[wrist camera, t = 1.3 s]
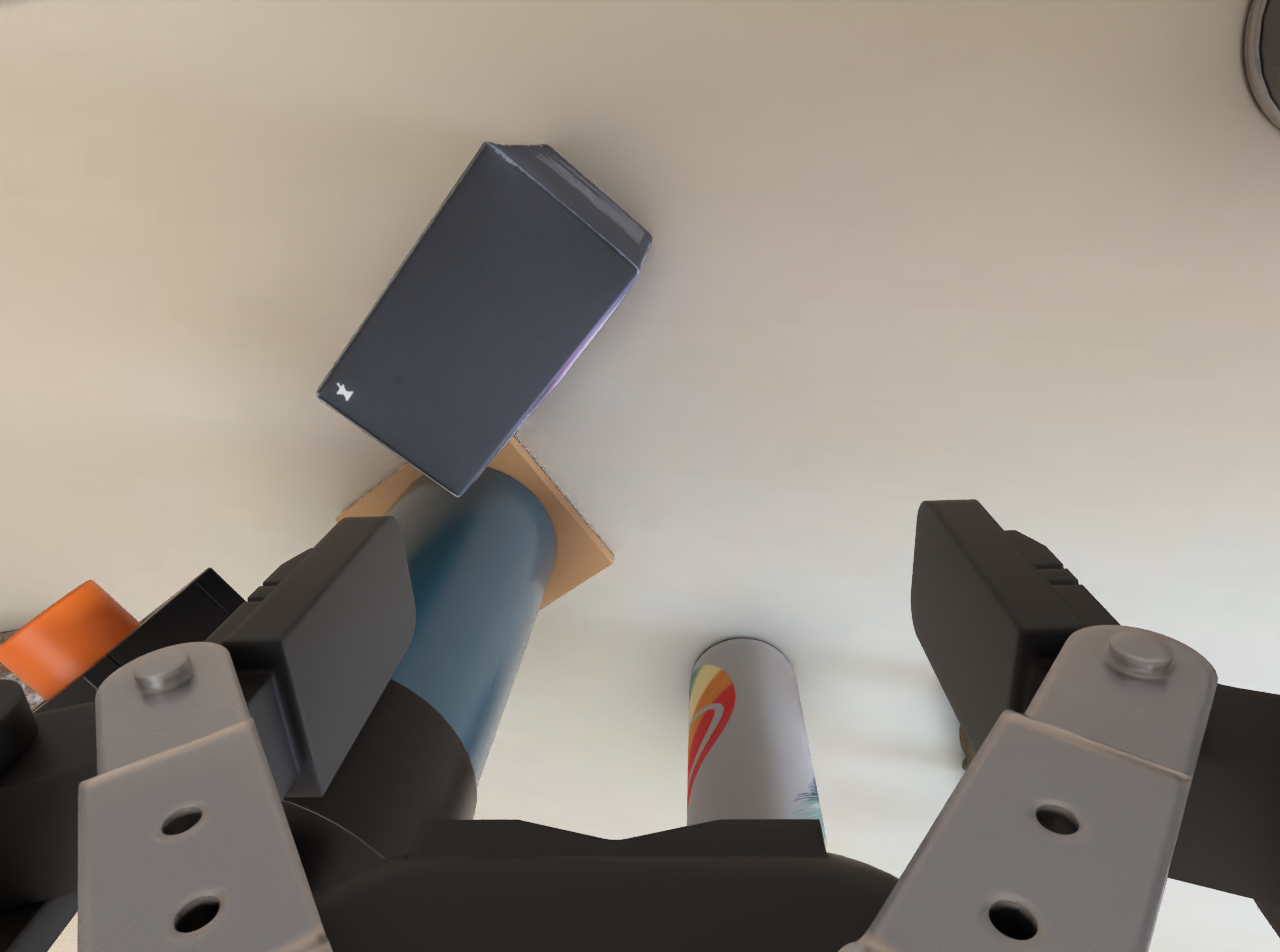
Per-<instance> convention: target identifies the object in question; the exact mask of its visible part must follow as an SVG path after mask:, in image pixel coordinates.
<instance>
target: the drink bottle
mask: <svg viewBox="0 0 1280 952" xmlns="http://www.w3.org/2000/svg"><path fill="white" fill-rule="evenodd" d="M383 516H393V517H395V518H396V520H397V521H398V523H399V525H400V528H401V532H402V536H403V542H404V547H405V552H406V558H407V563H408V568H409V574H410V579H411V585H412V590H413V595H414V601H415V608H416V623H415V630H414V635H413V639H412V641H411V644H410V646H409V647H408V649H407V651H406V653H405V654H404V656H403V658H402V659H401V661H400V663H399V665H398V666H397V668H396V670H395V672H394V673H393V675H392V677H391V679H390V680H389V682H388V684H387V686H386V687H385V689H384V691H383V693H382V694H381V696H380V698H379V699H378V701H377V703H376V705H375V706H374V708H373V710H372V712H371V713H370V715H369V717H368V719H367V720H366V722H365V724H364V726H363V727H362V729H361V731H360V733H359V734H358V736H357V738H356V739H355V741H354V743H353V745H352V746H351V748H350V750H349V752H348V753H347V755H346V757H345V759H344V760H343V762H342V764H341V766H340V767H339V769H338V771H337V772H336V774H335V776H334V778H333V779H332V781H331V783H330V785H329V786H328V788H327V790H326V792H325V793H324V795H323V797H284V798H283V799H282V801H281V803H282V806H283V809H284V812H285V815H286V818H287V821H288V824H289V827H290V830H291V833H292V836H293V839H294V842H295V845H296V848H297V851H298V854H299V857H300V860H301V863H302V866H303V869H304V872H305V875H306V878H307V881H308V884H309V887H310V890H311V893H312V894H313V893H314V892H316V891H318V890H319V889H321V888H322V887H324V886H326V885H327V884H329V883H331V882H333V881H335V880H337V879H339V878H341V877H343V876H345V875H347V874H348V873H350V872H353V871H355V870H357V869H360V868H362V867H365V866H367V865H370V864H372V863H374V862H378V861H381V860H384V859H387V858H390V857H394V856H397V855H401V854H405V853H409V852H410V851H411V848H412V846H413V843H414V841H415V838H416V836H417V833H418V831H419V828H420V826H421V823H422V821H423V820H473V817H474V814H475V808H476V802H477V786H478V783H479V780H480V777H481V774H482V771H483V768H484V766H485V763H486V760H487V757H488V754H489V751H490V748H491V745H492V743H493V740H494V737H495V734H496V731H497V728H498V725H499V722H500V720H501V717H502V714H503V711H504V708H505V705H506V702H507V699H508V697H509V694H510V691H511V688H512V685H513V682H514V679H515V676H516V674H517V671H518V668H519V665H520V662H521V659H522V656H523V653H524V651H525V648H526V645H527V642H528V639H529V636H530V633H531V630H532V628H533V625H534V622H535V619H536V616H537V613H538V610H539V607H540V605H541V602H542V599H543V596H544V593H545V590H546V587H547V584H548V582H549V579H550V576H551V573H552V570H553V567H554V564H555V559H556V537H555V532H554V528H553V525H552V522H551V520H550V518H549V515H548V514H547V512H546V510H545V508H544V507H543V505H542V504H541V503H540V501H539V500H538V499H537V497H536V496H535V495H534V494H533V493H532V492H531V491H530V490H529V489H528V488H526V487H525V486H524V485H523V484H521V483H520V482H519V481H517V480H516V479H514V478H512V477H511V476H509V475H507V474H505V473H503V472H500V471H498V470H495V469H492V468H488V467H486V468H485V470H484V471H483V472H482V473H481V474H480V476H479V477H478V478H477V479H476V480H475V481H474V482H473V483H472V484H471V486H470V487H469V488H468V489H467V491H466V492H465V493H464V494H463V495H462V496H460V497H455V496H454V495H452V494H451V493H450V492H448V491H447V490H445V489H444V488H442V487H441V486H440V485H438V484H437V483H435V482H434V481H432V480H431V479H430V478H428V477H427V476H426V475H422V476H420V477H419V478H417V479H416V480H415V481H414V482H412V483H411V484H410V485H409V486H408V487H407V488H406V489H405V491H404V492H403V493H402V494H401V495H400V496H399V498H398V499H397V500H396V501H395V502H394V503H393V504H392V506H391V507H390V508H389V509H388V510H387V511H386V512H385V514H384V515H383ZM243 602H246V601H245V600H244V599H243V598H242V597H241V596H240V595H239V594H238V593H237V592H236V591H235V590H234V589H233V588H232V587H230V586H229V585H228V584H227V583H226V582H225V581H224V580H223V579H222V578H221V577H220V576H219V575H218V574H217V573H216V572H215V571H214V570H213V569H212V568H208V569H206V570H205V571H204V572H203V573H201V574H200V575H199V576H197V577H196V578H195V579H194V580H192V581H191V582H190V583H189V584H187V585H186V586H185V587H183V588H182V589H181V590H180V591H178V592H177V593H176V594H174V595H173V596H172V597H171V598H169V599H168V600H167V601H165V602H164V603H163V604H162V605H160V606H159V607H158V608H156V609H155V610H154V611H153V612H151V613H150V614H149V615H148V616H146V617H145V618H144V619H142V620H141V621H140V622H139V623H140V625H139V626H138V627H137V628H136V629H134V630H133V631H132V632H131V633H130V634H128V635H127V636H126V637H125V638H124V639H123V640H121V641H120V642H119V643H118V644H117V645H115V646H114V647H113V648H112V649H111V650H110V651H108V652H107V653H106V654H105V655H104V656H102V657H101V658H100V659H99V660H98V661H96V662H95V663H94V664H93V665H92V666H91V667H90V668H88V669H87V670H86V671H85V672H83V673H82V674H81V675H79V676H78V677H77V678H76V679H74V680H73V681H72V682H70V683H69V684H68V685H67V686H65V687H64V688H63V689H61V690H60V691H59V692H57V693H56V694H55V695H54V696H52V697H51V698H50V699H48V700H47V701H46V700H45V699H44V700H43V701H42V702H41V703H39V704H38V705H37V706H36V707H35V708H33V709H32V713H33V714H35V713H40V712H44V711H49V710H54V709H59V708H64V707H69V706H74V705H79V704H84V703H89V702H94V701H95V696H96V692H97V690H98V688H99V686H100V685H101V684H102V683H103V681H104V680H105V679H106V678H108V677H109V676H110V675H111V674H112V673H113V672H115V671H116V670H117V669H119V668H120V667H122V666H124V665H125V664H127V663H129V662H130V661H132V660H134V659H136V658H138V657H141V656H143V655H145V654H147V653H150V652H153V651H156V650H158V649H161V648H165V647H169V646H172V645H177V644H182V643H190V642H204V641H205V640H206V639H207V638H208V637H209V636H210V635H211V634H212V633H213V632H214V631H215V630H216V629H217V628H218V627H219V626H220V625H221V624H222V623H223V622H224V621H225V620H226V619H227V618H228V617H229V616H230V615H231V614H232V613H233V612H234V611H235V610H236V609H237V608H238V607H239V606H240V605H241V604H242V603H243Z"/></svg>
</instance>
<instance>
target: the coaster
mask: <svg viewBox="0 0 1280 952" xmlns="http://www.w3.org/2000/svg"><path fill="white" fill-rule="evenodd" d="M487 467H488V468H492V469H495V470H498V471H500V472H503V473H505V474H507V475H509V476H511V477H512V478H514V479H516V480H517V481H519V482H520V483H521V484H523V485H524V486H525V487H526V488H528V489H529V490H530V491H531V492H532V493H533V494H534V495H535V496H536V497H537V499H538V500H539V501H540V503H541V504H542V505H543V507H544V508H545V510H546V512H547V514H548V515H549V518H550V520H551V522H552V525H553V528H554V532H555V537H556V559H555V564H554V567H553V570H552V573H551V576H550V579H549V582H548V584H547V587H546V590H545V593H544V596H543V599H542V602H541V605H540V607H539V610H540V609H542V608H543V607H545V606H547V605H548V604H550V603H551V602H553V601H554V600H556V599H558V598H559V597H561V596H562V595H564V594H565V593H567V592H568V591H570V590H572V589H573V588H575V587H576V586H578V585H579V584H581V583H583V582H584V581H586V580H587V579H589V578H590V577H592V576H593V575H595V574H597V573H598V572H600V571H601V570H603V569H604V568H606V567H608V566H609V565H611V564H612V563H613V559H614V555H613V554H612V553H611V552H610V550H609V549H608V548H607V547H606V546H605V545H604V543H603V542H602V541H601V540H600V539H599V537H598V536H597V535H596V534H595V533H594V531H593V530H592V529H591V528H590V527H589V525H588V524H587V523H586V522H585V521H584V519H583V518H582V517H581V516H580V515H579V513H578V512H577V511H576V510H575V509H574V507H573V506H572V505H571V504H570V503H569V502H568V500H567V499H566V498H565V497H564V496H563V494H562V493H561V492H560V491H559V490H558V488H557V487H556V486H555V485H554V484H553V482H552V481H551V480H550V479H549V478H548V476H547V475H546V474H545V473H544V472H543V470H542V469H541V468H540V467H539V466H538V464H537V463H536V462H535V461H534V460H533V459H532V457H531V456H530V455H529V454H528V453H527V451H526V450H525V449H524V448H523V447H522V445H521V444H520V443H519V442H518V441H517V439H516V438H515V437H514V436H513V437H512V438H511V439H510V440H509V441H508V443H507V444H506V445H505V446H504V447H503V449H502V450H501V451H500V452H499V453H498V454H497V456H496V457H495V458H494V459H493V460H492V461H491V463H490V464H489V465H488V466H487ZM422 475H424V474H423V473H421V472H420V471H419V470H417V469H416V468H414V467H413V466H412V465H410V464H409V463H407V464H406V465H404V466H403V467H402V468H400V469H399V470H398V471H396V472H395V473H394V474H392V475H391V476H390V477H388V478H387V479H386V480H384V481H383V482H382V483H380V484H379V485H378V486H376V487H375V488H374V489H372V490H371V491H370V492H368V493H367V494H366V495H364V496H363V497H362V498H361V499H359V500H358V501H357V502H355V503H354V504H353V505H351V506H350V507H349V508H347V509H346V510H345V511H343V512H342V513H341V514H340V515H339V516H338V517H337V518H336V521H337V522H339V521H340V520H341V519H343V518H345V517H370V516H383V515H384V514H385V512H386V511H387V510H388V509H389V508H390V507H391V506H392V504H393V503H394V502H395V501H396V500H397V499H398V498H399V496H400V495H401V494H402V493H403V492H404V491H405V489H406V488H407V487H408V486H409V485H410V484H411V483H412V482H414V481H415V480H416V479H417V478H419V477H420V476H422ZM539 610H538V611H539Z"/></svg>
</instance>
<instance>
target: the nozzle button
mask: <svg viewBox="0 0 1280 952" xmlns="http://www.w3.org/2000/svg"><path fill="white" fill-rule="evenodd" d="M139 625H140V623H139V622H138V621H137V620H136V619H135V618H134V617H133V616H132V615H130V614H129V613H128V612H127V611H126V610H125V609H124V608H123V607H122V606H121V605H120V604H118V603H117V602H116V601H115V600H114V599H113V598H112V597H111V596H110V595H109V594H107V593H106V592H105V591H104V590H103V589H102V588H101V587H100V586H99V585H98V584H97V583H95V582H94V581H92V580H89V581H86V582H85V583H83V584H81V585H80V586H78V587H77V588H75V589H74V590H72V591H71V592H70V593H68V594H67V595H65V596H64V597H63V598H61V599H60V600H58V601H57V602H56V603H54V604H53V605H52V606H50V607H49V608H48V609H46V610H45V611H43V612H42V613H41V614H39V615H38V616H37V617H36V618H34V619H33V620H32V621H30V622H29V623H28V624H26V625H25V626H24V627H22V628H21V629H20V630H19V631H17V632H16V633H15V634H14V635H12V636H11V637H10V638H9V639H7V640H6V641H5V642H4V643H3V644H1V645H0V662H1V663H2V664H3V665H4V666H6V667H7V668H8V669H9V670H10V671H11V672H13V673H14V674H15V675H16V676H17V677H19V678H20V679H21V680H22V681H23V682H24V683H26V684H27V685H28V686H29V687H30V688H32V689H33V690H34V691H35V692H36V693H38V694H39V695H40V696H41V697H42V698H43V699H45V700H46V701H47V700H48V699H50V698H51V697H52V696H54V695H55V694H56V693H57V692H59V691H60V690H61V689H63V688H64V687H65V686H67V685H68V684H69V683H70V682H72V681H73V680H74V679H76V678H77V677H78V676H79V675H81V674H82V673H83V672H85V671H86V670H87V669H88V668H90V667H91V666H92V665H93V664H94V663H95V662H96V661H98V660H99V659H100V658H101V657H102V656H104V655H105V654H106V653H107V652H108V651H110V650H111V649H112V648H113V647H114V646H115V645H117V644H118V643H119V642H120V641H121V640H123V639H124V638H125V637H126V636H127V635H128V634H130V633H131V632H132V631H133V630H134V629H136V628H137V627H138V626H139Z"/></svg>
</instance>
